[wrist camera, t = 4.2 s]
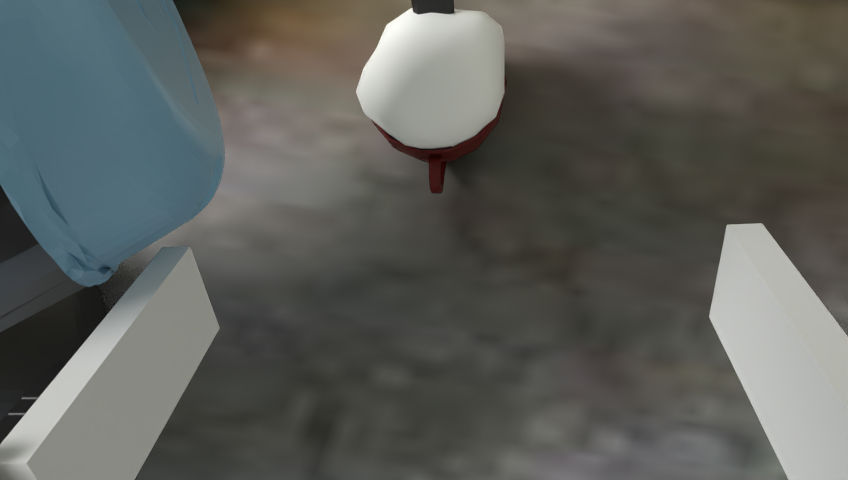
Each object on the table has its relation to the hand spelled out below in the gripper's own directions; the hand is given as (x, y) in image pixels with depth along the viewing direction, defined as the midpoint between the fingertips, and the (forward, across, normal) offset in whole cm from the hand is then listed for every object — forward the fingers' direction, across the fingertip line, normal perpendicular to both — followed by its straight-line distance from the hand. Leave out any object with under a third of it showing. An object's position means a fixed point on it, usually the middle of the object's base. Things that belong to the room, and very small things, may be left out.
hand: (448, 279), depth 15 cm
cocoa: (+16, -1, -2) cm, 16 cm away
